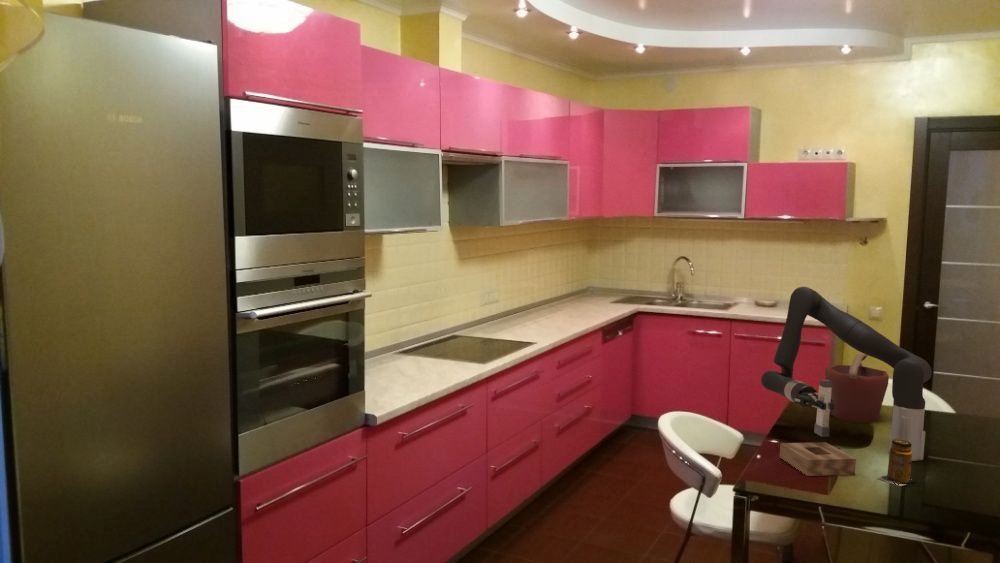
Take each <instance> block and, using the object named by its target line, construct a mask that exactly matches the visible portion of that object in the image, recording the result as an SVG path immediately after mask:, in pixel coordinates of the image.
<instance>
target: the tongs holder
mask: <svg viewBox="0 0 1000 563" xmlns="http://www.w3.org/2000/svg"><path fill="white" fill-rule="evenodd" d="M779 444H780V445H779V459H780V458H781V459H783V460H784V461H783V460H782V461H783V462H785V461H786V462H788V463H789V464H791V465H792V466H793V468H794V467H795V468H796V469H795V468H794V469H795V470H797V469H798V470H799V471H798V470H797V471H798V472H800V471H801V472H802V474H803V475H804V474H805V476H807V477H814V476H817V477H818V476H819V477H820V476H823V477H824V476H852V475H856V466H857V465H856V464H857V458H855V457H854V456H851V455H850V454H848V453H847V452H844V451H843V450H841V449H838V448H837V447H836V446H833V445H831V444H829V443H828V442H824V441H823V442H780V443H779ZM781 459H780V460H781ZM786 462H785V463H786ZM788 463H787V464H788ZM789 464H788V465H789ZM791 465H790V466H791ZM792 466H791V467H792ZM801 472H800V473H801Z"/></svg>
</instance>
